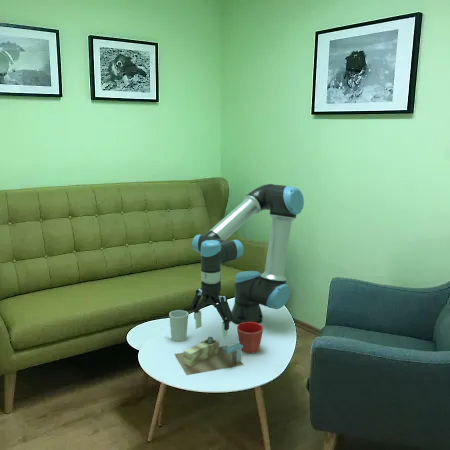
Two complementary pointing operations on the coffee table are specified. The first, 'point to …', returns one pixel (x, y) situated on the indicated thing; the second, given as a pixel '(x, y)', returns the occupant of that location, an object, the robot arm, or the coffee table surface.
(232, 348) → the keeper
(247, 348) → the flower pot
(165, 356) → the coffee table surface
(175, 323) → the cup
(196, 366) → the board
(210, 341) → the pin
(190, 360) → the link
